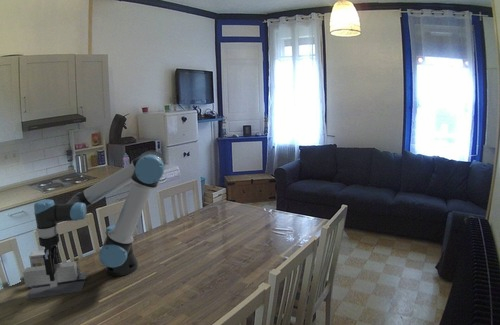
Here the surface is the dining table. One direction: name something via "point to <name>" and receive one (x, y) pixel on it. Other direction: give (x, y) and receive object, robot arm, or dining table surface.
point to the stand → (79, 278)
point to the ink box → (36, 258)
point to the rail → (39, 276)
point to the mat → (55, 290)
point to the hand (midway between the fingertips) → (55, 283)
